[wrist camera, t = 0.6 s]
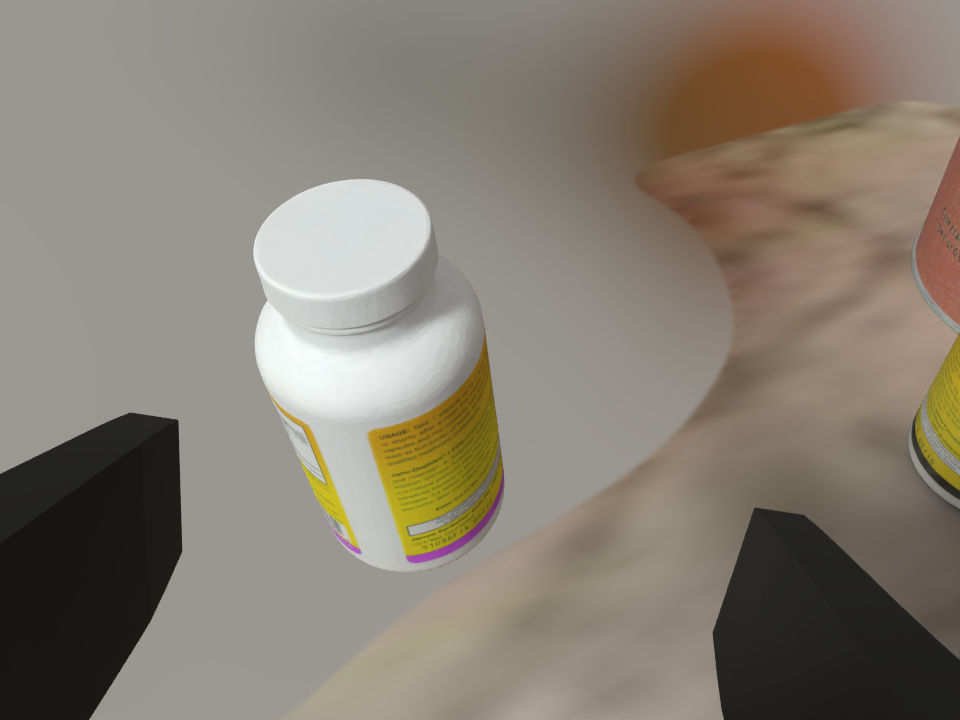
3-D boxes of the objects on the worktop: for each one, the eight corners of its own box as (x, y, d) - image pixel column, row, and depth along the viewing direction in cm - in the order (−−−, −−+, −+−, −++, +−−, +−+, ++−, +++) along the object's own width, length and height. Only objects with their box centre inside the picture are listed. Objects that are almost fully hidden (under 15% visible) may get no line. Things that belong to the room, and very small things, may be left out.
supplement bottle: (526, 443, 32) (505, 169, 23) (475, 600, 28) (422, 350, 19) (367, 410, 34) (284, 143, 24) (297, 554, 30) (165, 303, 20)
